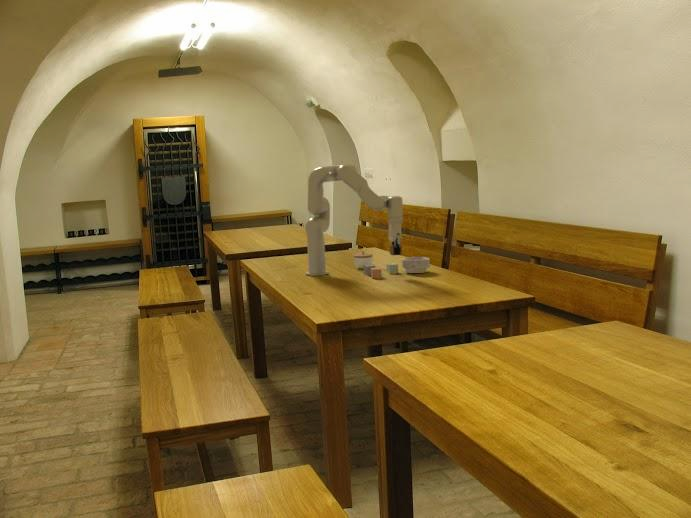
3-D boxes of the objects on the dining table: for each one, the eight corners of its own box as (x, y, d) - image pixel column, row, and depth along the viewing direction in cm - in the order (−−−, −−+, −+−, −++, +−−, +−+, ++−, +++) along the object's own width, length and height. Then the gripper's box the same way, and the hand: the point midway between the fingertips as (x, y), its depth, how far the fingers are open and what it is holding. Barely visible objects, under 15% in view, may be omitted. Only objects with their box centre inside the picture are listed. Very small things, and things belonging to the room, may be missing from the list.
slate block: (363, 274, 389) (363, 265, 388) (371, 273, 391) (371, 264, 390) (367, 275, 384) (366, 266, 384) (375, 274, 386) (375, 265, 386)
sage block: (386, 272, 392) (386, 263, 391) (395, 271, 393) (394, 262, 393) (389, 274, 387) (389, 264, 386) (398, 273, 389) (398, 264, 388)
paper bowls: (422, 269, 398) (422, 255, 397) (434, 273, 384) (434, 259, 382) (397, 271, 393) (397, 257, 392) (408, 276, 379) (408, 261, 378)
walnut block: (389, 254, 379) (389, 244, 378) (398, 253, 380) (398, 244, 379) (392, 255, 374) (392, 246, 373) (401, 254, 375) (401, 245, 374)
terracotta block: (371, 277, 380) (370, 267, 379) (380, 276, 380) (380, 267, 379) (372, 278, 375) (371, 269, 374) (381, 278, 375) (381, 269, 374)
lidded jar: (376, 267, 411) (375, 251, 410) (366, 269, 402) (366, 253, 401) (360, 265, 417) (360, 250, 415) (350, 268, 408) (350, 252, 406)
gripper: (384, 218, 381) (384, 252, 384) (392, 221, 365) (393, 256, 368) (397, 218, 383) (397, 251, 386) (406, 221, 366) (407, 255, 369)
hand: (395, 253), depth 377 cm, fingers closed on walnut block, 5 cm apart
